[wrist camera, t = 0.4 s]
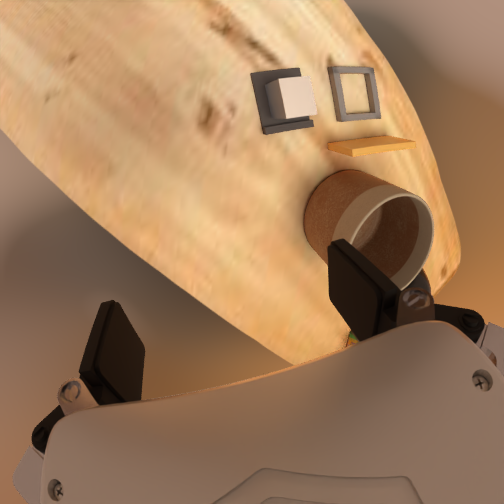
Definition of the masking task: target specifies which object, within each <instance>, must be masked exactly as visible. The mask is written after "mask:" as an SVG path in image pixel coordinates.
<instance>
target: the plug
mask: <svg viewBox="0 0 504 504" xmlns="http://www.w3.org/2000/svg"><path fill="white" fill-rule="evenodd" d="M265 88H266V93H267V97H268V102H269V107H270V112H271V117H272V119H288V118H295V117H302V116H309V115H317V109H316V103H315V98H314V93H313V88H312V83H311V78H310V76H302V77H291V78H281V79H277V80H275V81H272V82H270V83H268V84H266V85H265Z"/></svg>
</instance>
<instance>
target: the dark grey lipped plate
mask: <svg viewBox="0 0 504 504" xmlns="http://www.w3.org/2000/svg"><path fill="white" fill-rule="evenodd" d="M291 77H301V73H300V68H291V69H281V70H272V71H264V72H256V73H251V78H252V83H253V87H254V92H255V96H256V101H257V105H258V110H259V115H260V120H261V124H262V129H263V134H265V135H268V134H273V133H278V132H284V131H290V130H296V129H302V128H308V127H314V124H313V120H310V119H309V116H302V117H295V118H288V119H272V117H271V112H270V107H269V102H268V97H267V93H266V88H265V85H266V84H268V83H270V82H272V81H275V80H277V79H281V78H291Z"/></svg>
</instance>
